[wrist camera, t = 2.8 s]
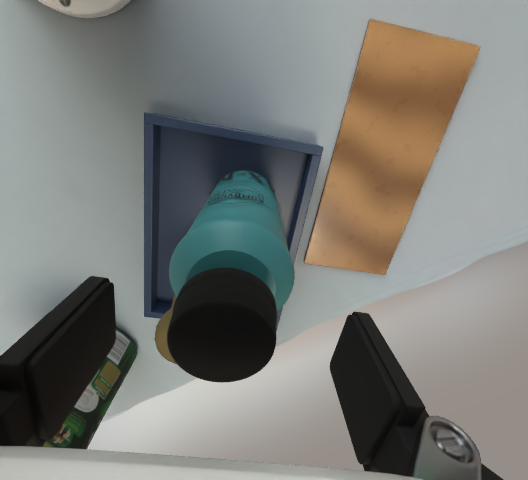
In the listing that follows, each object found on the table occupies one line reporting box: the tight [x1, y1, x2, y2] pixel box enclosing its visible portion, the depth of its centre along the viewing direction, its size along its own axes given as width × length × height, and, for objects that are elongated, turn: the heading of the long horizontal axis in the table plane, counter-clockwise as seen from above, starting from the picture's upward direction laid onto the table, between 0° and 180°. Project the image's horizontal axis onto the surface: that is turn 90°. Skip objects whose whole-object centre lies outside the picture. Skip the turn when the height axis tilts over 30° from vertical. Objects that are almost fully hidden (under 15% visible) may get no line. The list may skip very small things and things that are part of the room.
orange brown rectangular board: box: [304, 19, 481, 275], centre depth 27 cm, size 23×10×1 cm, turn 170°
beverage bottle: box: [167, 169, 294, 382], centre depth 18 cm, size 6×7×20 cm
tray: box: [144, 113, 323, 331], centre depth 28 cm, size 22×16×2 cm
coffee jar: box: [43, 328, 137, 449], centre depth 27 cm, size 10×8×19 cm
